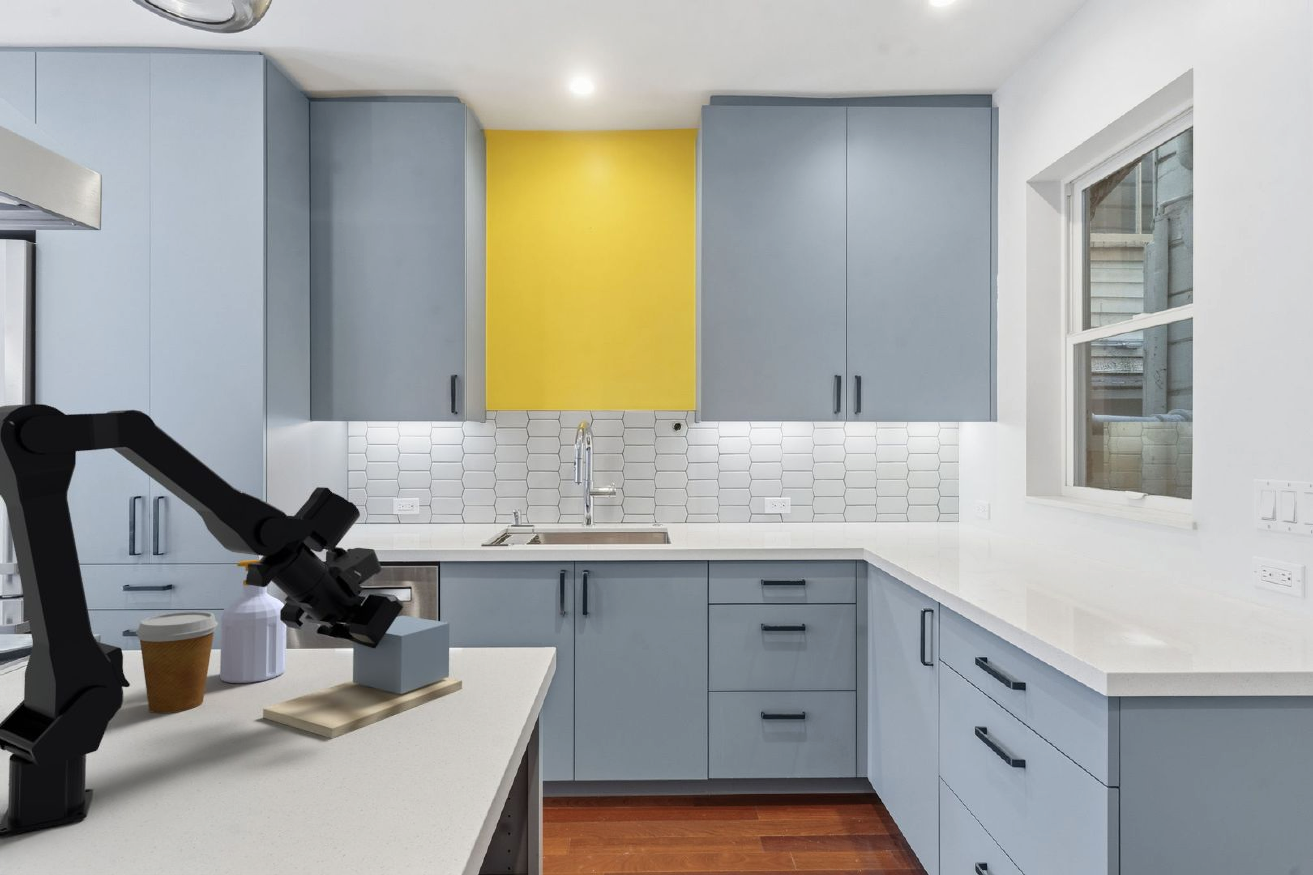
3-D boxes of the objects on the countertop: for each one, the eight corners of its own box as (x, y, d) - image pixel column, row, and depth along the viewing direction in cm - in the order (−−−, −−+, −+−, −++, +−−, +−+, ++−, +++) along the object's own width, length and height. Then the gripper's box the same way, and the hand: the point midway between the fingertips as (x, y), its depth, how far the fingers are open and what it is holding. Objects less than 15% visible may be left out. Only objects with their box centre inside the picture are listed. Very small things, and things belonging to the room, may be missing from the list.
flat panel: (332, 738, 90) (333, 695, 90) (263, 717, 96) (263, 677, 96) (462, 688, 109) (462, 653, 109) (396, 674, 116) (396, 641, 116)
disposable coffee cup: (222, 691, 107) (223, 608, 107) (208, 712, 98) (210, 622, 98) (145, 698, 104) (147, 613, 104) (124, 721, 95) (126, 628, 95)
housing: (401, 693, 101) (401, 635, 101) (352, 682, 106) (353, 627, 106) (448, 676, 109) (449, 622, 109) (402, 666, 114) (402, 615, 114)
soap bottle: (225, 670, 117) (228, 516, 118) (289, 664, 120) (291, 515, 121) (213, 686, 109) (217, 521, 109) (282, 680, 112) (284, 520, 113)
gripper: (392, 534, 95) (453, 604, 104) (301, 526, 104) (365, 591, 113) (338, 606, 88) (409, 674, 97) (245, 591, 97) (319, 655, 106)
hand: (375, 645), depth 104 cm, fingers closed, pressing on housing
